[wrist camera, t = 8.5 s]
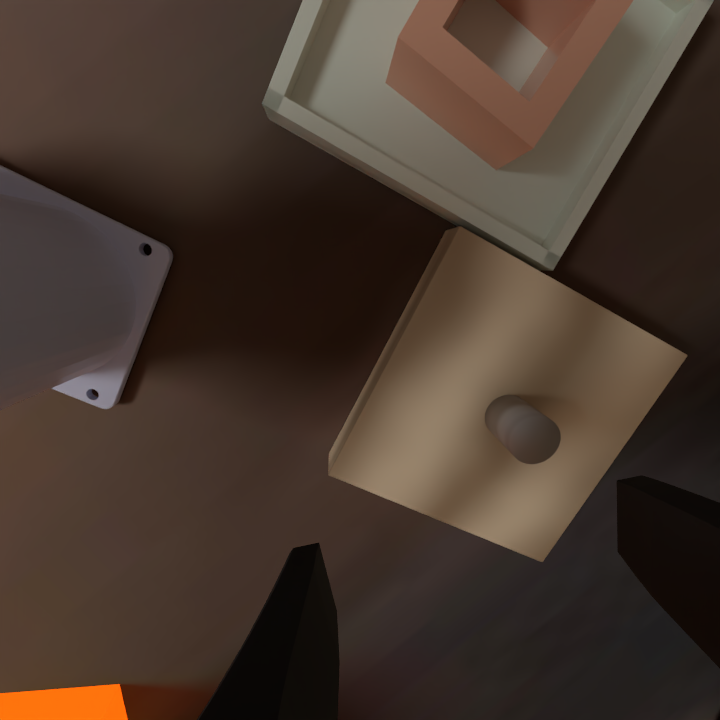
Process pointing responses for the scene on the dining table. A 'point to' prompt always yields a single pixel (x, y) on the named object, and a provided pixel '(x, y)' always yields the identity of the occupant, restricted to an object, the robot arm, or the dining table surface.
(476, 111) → the ring
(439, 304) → the board
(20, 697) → the orange juice
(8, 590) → the dining table surface
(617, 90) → the tray
